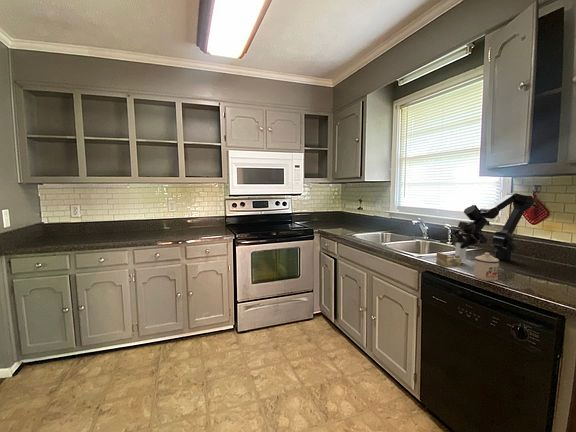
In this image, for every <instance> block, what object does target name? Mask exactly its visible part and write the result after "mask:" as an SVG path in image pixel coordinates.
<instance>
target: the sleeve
mask: <svg viewBox="0 0 576 432" xmlns="http://www.w3.org/2000/svg"><path fill="white" fill-rule="evenodd" d="M435 263H436V264H438V265H441V266H444V267H451V266H461V265H462V262H461V258H455V255H448V254H445V253H443V252H439V251H437V252H436V261H435Z"/></svg>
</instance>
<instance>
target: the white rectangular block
mask: <svg viewBox="0 0 576 432" xmlns="http://www.w3.org/2000/svg"><path fill="white" fill-rule="evenodd" d="M462 244H463V242H460V243H457V242H455V251H454V254H455V255H454V258H461V263H465V262H466V261H467V247H466V248H463V249H461V246H462Z"/></svg>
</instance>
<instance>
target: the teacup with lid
mask: <svg viewBox="0 0 576 432" xmlns="http://www.w3.org/2000/svg"><path fill="white" fill-rule="evenodd" d="M499 267H500V260H499V259H497V258H495V257H494V256H493V255H491V253H490V252H484V253H483V254H481V255H477V256H475V257H474V272H473V273H474V274H473V275H474V278H475V279H477V280H482V281H485V282H497V281H498V279H499V278H498V277H499V276H498V275H499Z"/></svg>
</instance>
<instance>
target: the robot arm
mask: <svg viewBox="0 0 576 432" xmlns="http://www.w3.org/2000/svg"><path fill="white" fill-rule="evenodd" d="M534 203H535V198H534V197H533V196H532V195H525V194H520V193H517V192H508V193H506V195H504V196H503V197H502V198H500V199H498V200H497V201H495V202H494V203H492V204H490V205H487V206H483V207H480V209H479V208H478V206H477V205H476V204H471V206H468V207H466V208H465V209H464V210H463V213H464V215H465V216H466V217H467V219H468V220H469V222H465V221H459V223H458V224H457V228H459V229H457V228H452V230H451V234H452V235H453V236H454V238H455V239H457V240H456V243H460V242H463V244H462V246H461V249H463V248H466V249H467V248H468V247H470V246H473V245H476V244H478V241H479V244H480V245H481V244H482V245H486V244H487V243H488V238H487V237H486V236H485V234H483V231H482V230H483V228H485V226H488V227H490V226H491V224H490V220H493V219H495V218H496V217H497V216H498V215H499V214H500V212H501V211H502V210H503V209H505V208H506V207H507V206H509V205H511V204H512V206H513V209H512V211H511V212H510V215H509V217H508V218H507V220H506V222H505V224H504V226H503V227H502V229H501V230H500V231H495V233H494V235H493V236H492V245H493V248H496V250H495V257H494V258H497V259H499V261H503V262H505V261H506V262H512V252H513V251H516V248H517V246H516V245H515V243H513V241H514V235H513V234H514V231H515V229H516V228H517V226H518V224H519V223H520V220H521V218H522V216H523V215H524V213H525V212H526V211H528V210H529V209H531V207H533V205H534ZM487 219H489V220H487ZM460 229H461V230H460ZM465 238H466V239H465Z"/></svg>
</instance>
